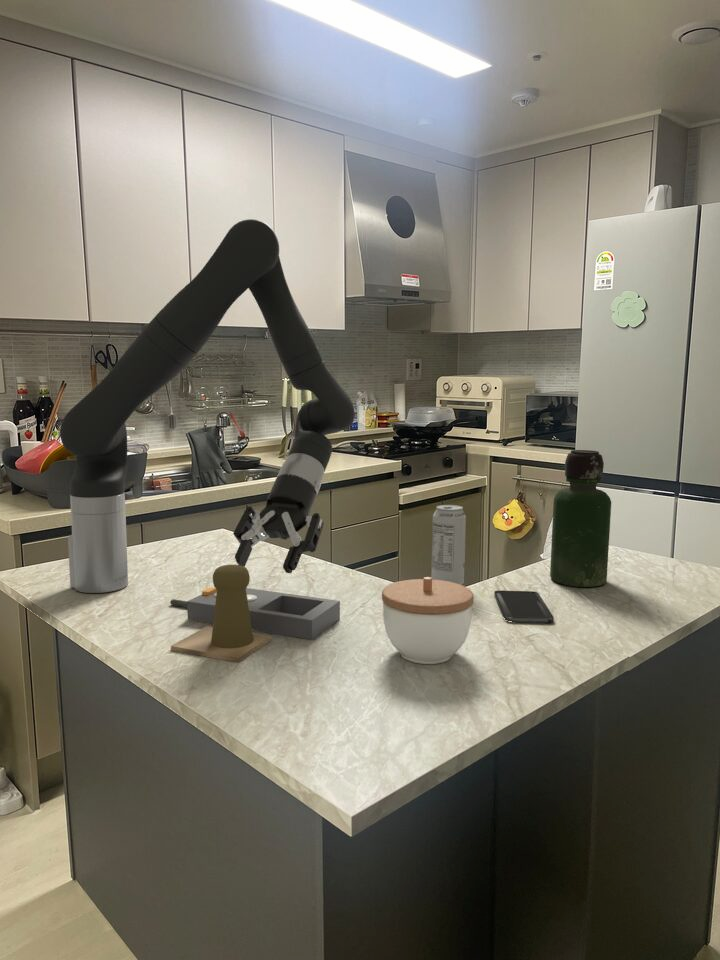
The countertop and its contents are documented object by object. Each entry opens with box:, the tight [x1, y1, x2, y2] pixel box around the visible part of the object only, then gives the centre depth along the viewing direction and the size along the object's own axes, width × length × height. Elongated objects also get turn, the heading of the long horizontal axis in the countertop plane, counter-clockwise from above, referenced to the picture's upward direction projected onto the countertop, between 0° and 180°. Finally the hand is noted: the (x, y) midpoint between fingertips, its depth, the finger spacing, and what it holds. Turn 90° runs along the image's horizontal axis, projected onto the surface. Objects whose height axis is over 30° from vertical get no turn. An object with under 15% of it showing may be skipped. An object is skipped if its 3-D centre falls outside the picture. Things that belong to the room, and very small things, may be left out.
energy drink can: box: [430, 504, 467, 586], centre depth 131 cm, size 6×6×15 cm
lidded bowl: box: [381, 576, 474, 665], centre depth 99 cm, size 13×13×11 cm
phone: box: [493, 590, 555, 625], centre depth 120 cm, size 8×1×15 cm
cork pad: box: [170, 625, 272, 663], centre depth 102 cm, size 11×9×1 cm
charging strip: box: [169, 587, 341, 641], centre depth 114 cm, size 29×10×4 cm, turn 68°
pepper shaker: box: [211, 564, 254, 648], centre depth 101 cm, size 6×6×11 cm
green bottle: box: [549, 449, 612, 588], centre depth 135 cm, size 10×10×25 cm
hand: (262, 567), depth 112 cm, fingers open, 8 cm apart
